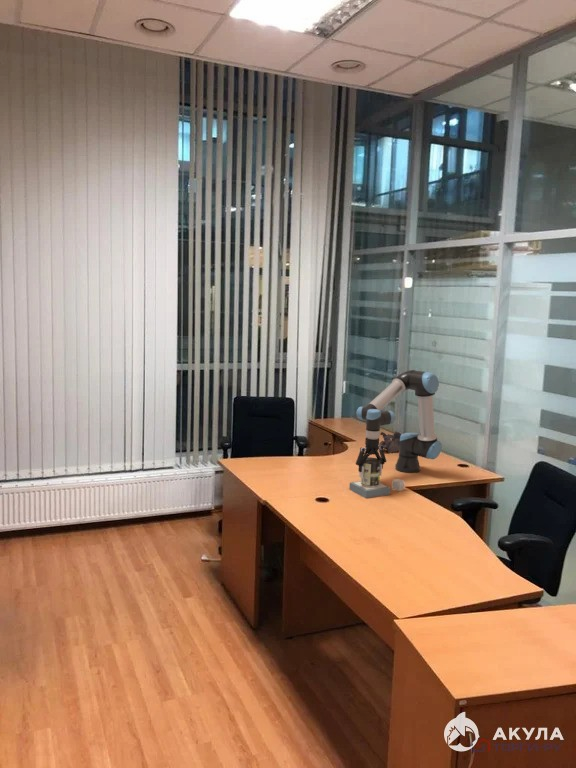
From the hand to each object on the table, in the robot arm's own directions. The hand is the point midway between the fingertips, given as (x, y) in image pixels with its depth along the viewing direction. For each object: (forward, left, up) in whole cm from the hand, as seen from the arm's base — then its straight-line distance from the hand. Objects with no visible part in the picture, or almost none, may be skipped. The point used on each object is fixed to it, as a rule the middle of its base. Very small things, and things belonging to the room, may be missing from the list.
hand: (370, 476), depth 343 cm
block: (-18, +2, -9) cm, 20 cm away
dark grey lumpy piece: (-66, -66, -9) cm, 94 cm away
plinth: (0, 0, -9) cm, 9 cm away
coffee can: (0, 0, -5) cm, 5 cm away
